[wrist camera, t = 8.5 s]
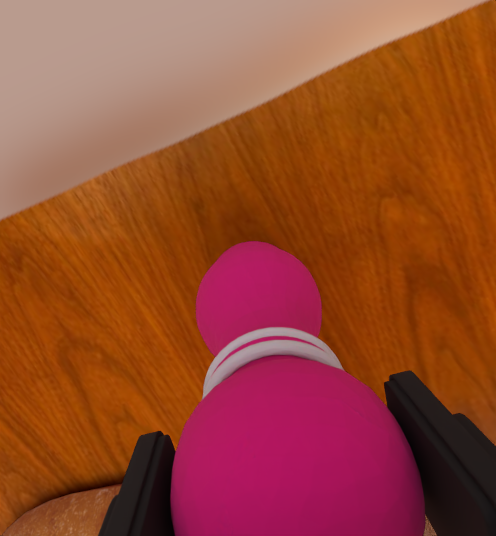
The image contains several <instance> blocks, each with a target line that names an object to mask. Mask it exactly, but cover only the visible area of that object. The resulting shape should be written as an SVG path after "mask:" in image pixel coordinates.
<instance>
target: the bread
mask: <svg viewBox="0 0 496 536" xmlns="http://www.w3.org/2000/svg"><path fill="white" fill-rule="evenodd" d="M121 485H122V484H117V485H112V486H107V487H102V488H97V489H92V490H87V491H83V492H78V493H73V494H69V495H66V496H63V497H59V498H56V499H53V500H50V501H48V502H46V503H44V504H42V505H40V506H38V507H36V508H34V509H32V510H30V511H28V512H26V513H24V514H23V515H22V516H21V517H20V518H19V519H17V520H16V521H15V522H14V523H13V524H12V525H11V526H9V527H8V528H7V529H6V531H5V532H4V533H3V535H2V536H98V534H99V531H100V528H101V526H102V523H103V520H104V518H105V515H106V512H107V510H108V507H109V505H110V503H111V501H112V499H113V498H114V497H115V495H118V494H119V491H120V488H121Z"/></svg>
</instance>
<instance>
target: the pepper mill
mask: <svg viewBox="0 0 496 536" xmlns="http://www.w3.org/2000/svg"><path fill="white" fill-rule="evenodd" d="M196 319H197V324H198V328H199V331H200V333H201V335H202V338H203V340H204V341H205V343H206V345H207V347H208V348H209V350H210V352H211V353H212V354H213V355H214V356H215V357H216V358H215V359H214V360H213V362H212V364H211V365H210V367H209V369H208V372H207V375H206V378H205V382H204V392H203V398H202V401H201V402H200V403H199V404H198V405H197V407H196V408H195V410H194V411H193V413H192V415H191V416H190V418H189V419H188V421H187V422H186V424H185V426H184V429H183V432H182V435H181V438H180V441H179V444H178V447H177V450H176V453H175V457H174V462H173V467H172V478H171V494H170V505H171V519H172V524H173V529H174V533H175V536H423V534H424V529H425V501H424V494H423V488H422V482H421V477H420V472H419V469H418V466H417V464H416V461H415V458H414V455H413V452H412V450H411V447H410V445H409V443H408V441H407V439H406V437H405V435H404V433H403V431H402V429H401V427H400V425H399V424H398V422H397V420H396V419H395V417H394V416H393V414H392V413H391V412H390V411H389V409H388V408H387V407H386V406H385V404H384V403H383V402H382V401H381V400H380V399H379V397H378V396H377V395H376V394H375V393H374V392H373V391H372V390H371V388H369V387H368V386H366V385H365V384H363V383H362V382H360V381H359V380H357V379H356V378H354V377H353V376H351V375H350V374H348V373H347V372H345V371H344V369H343V368H342V366H341V364H340V362H339V360H338V358H337V357H336V355H335V354H334V353H333V352H332V350H331V349H330V348H329V347H328V346H327V345H326V344H325V343H324V342H322V341H321V340H320V339H318V338H317V337H318V335H319V332H320V327H321V321H322V304H321V298H320V294H319V291H318V288H317V285H316V283H315V281H314V279H313V277H312V276H311V274H310V272H309V270H308V269H307V268H306V267H305V266H304V265H303V264H302V262H301V261H299V260H298V259H297V258H296V257H294V256H293V255H291V254H289V253H288V252H286V251H283V250H281V249H279V248H277V247H276V246H274V245H271V244H269V243H264V242H259V241H248V242H244V243H240V244H237V245H235V246H233V247H231V248H229V249H228V250H226V251H225V252H224V253H223V254H222V255H221V256H220V257H219V258H218V260H217V261H216V262H215V263H214V264H213V265H212V266H211V267H210V269H209V270H208V271H207V273H206V274H205V276H204V277H203V280H202V282H201V284H200V286H199V290H198V294H197V299H196Z"/></svg>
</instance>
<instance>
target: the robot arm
mask: <svg viewBox="0 0 496 536" xmlns="http://www.w3.org/2000/svg"><path fill="white" fill-rule="evenodd" d="M384 388H385V394H386V400H387V407H388V409H389V411H390V412H391V413H392V414H393V416H394V417H395V419H396V420H397V422H398V424H399V425H400V427H401V429H402V431H403V433H404V435H405V437H406V439H407V441H408V443H409V445H410V447H411V450H412V452H413V455H414V458H415V461H416V464H417V466H418V469H419V472H420V477H421V482H422V488H423V494H424V501H425V514H426V516H427V518H428V520H429V521H430V523H431V525H432V527H433V528H434V530H435V532H436V534H437V536H496V446H495V445H494V444H493V443H492V442H491V441H490V440H489V439H488V438H487V437H486V436H485V435H484V434H483V433H482V432H481V431H480V430H479V429H478V428H477V427H476V426H475V425H474V424H473V423H472V422H471V421H470V420H469V419H468V418H467V417H466V416H465V415H463V414H461V413H458V414H453V415H452V414H451V413H450V412H449V411H448V410H447V409H446V408H445V406H444V405H443V404H442V403H441V402H440V401H439V400H438V399H437V398H436V397H435V396H434V395H433V393H432V392H431V391H430V390H429V389H428V388H427V387H426V386H425V385H424V384H423V383H422V382H421V380H420V379H419V378H418V377H417V376H416V375H415V374H414V373H413V372H412V371H410V370H409V371H405V372H401V373H396V374H392V375H390V376H389V381H387V382H385V383H384ZM175 453H176V451H175V449H174V446H173V444H172V441H171V438H170V436H169V435H163V433H162V432H161V431H157V432H153V433H149V434H145V435H141V436H140V437H139V439H138V441H137V444H136V446H135V449H134V452H133V455H132V458H131V460H130V463H129V466H128V469H127V471H126V474H125V477H124V480H123V483H122V485H121V488H120V491H119V494H118V495H115V497H114V498H113V499H112V501H111V503H110V505H109V507H108V510H107V512H106V515H105V518H104V520H103V523H102V526H101V528H100V531H99V534H98V536H175V533H174V529H173V524H172V519H171V505H170V494H171V478H172V467H173V462H174V457H175Z"/></svg>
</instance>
